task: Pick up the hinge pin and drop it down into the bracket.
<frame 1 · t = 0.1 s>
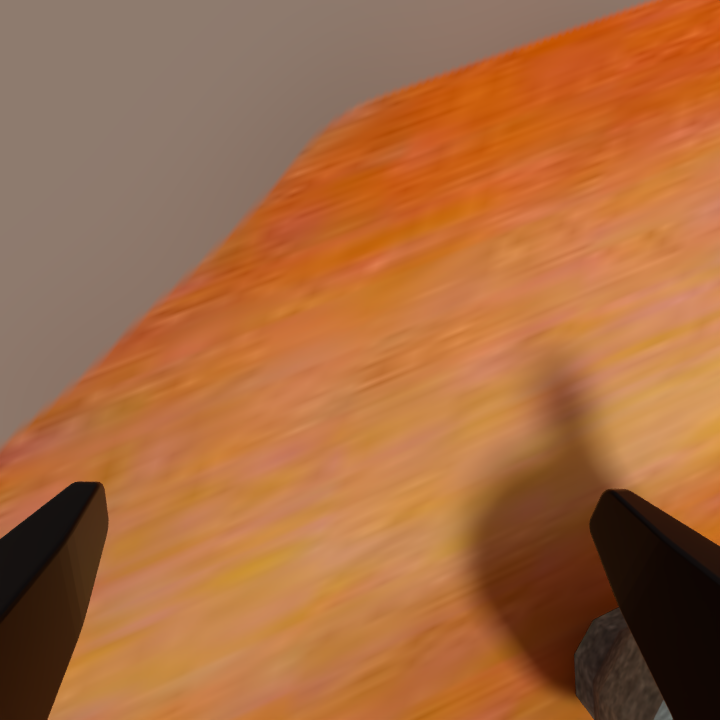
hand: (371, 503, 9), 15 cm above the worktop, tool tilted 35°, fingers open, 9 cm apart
mortar and pestle: (632, 653, 26), on the worktop
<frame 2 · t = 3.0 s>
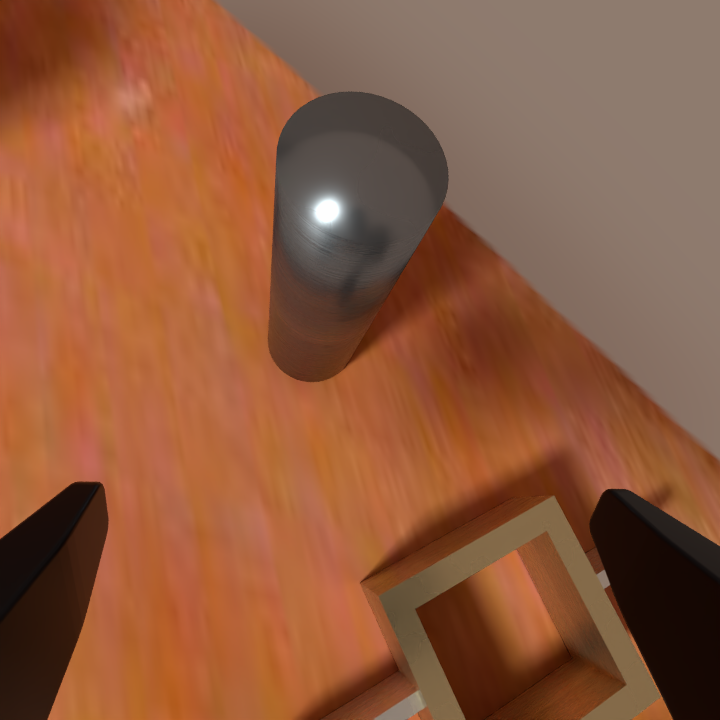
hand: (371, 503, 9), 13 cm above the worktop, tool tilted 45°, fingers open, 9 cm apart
hinge pin: (311, 340, 24), on the worktop
bracket: (483, 626, 22), on the worktop
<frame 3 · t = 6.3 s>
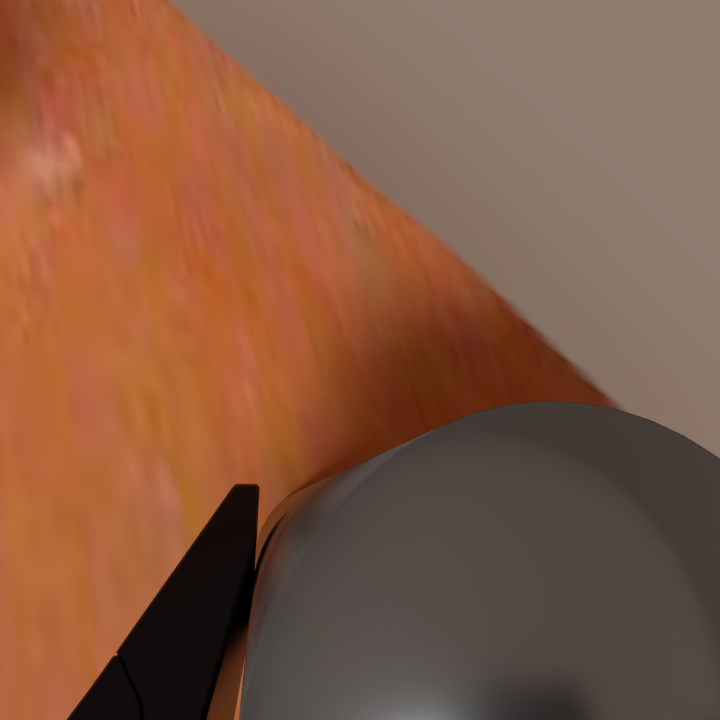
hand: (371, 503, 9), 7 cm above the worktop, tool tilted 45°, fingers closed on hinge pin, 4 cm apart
hinge pin: (324, 554, 15), on the worktop, touching gripper
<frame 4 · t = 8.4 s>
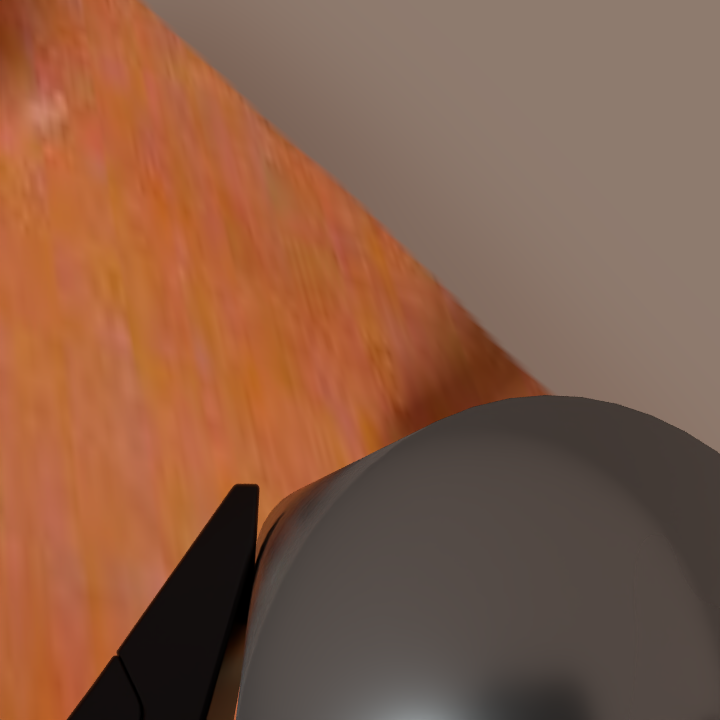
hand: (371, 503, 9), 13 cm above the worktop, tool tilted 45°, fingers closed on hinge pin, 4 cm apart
hinge pin: (324, 553, 15), point 6 cm above the worktop, touching gripper
when the fingers open (9 cm above the worktop, at t = 10.9 s): hinge pin drops 2 cm, resting in bracket.
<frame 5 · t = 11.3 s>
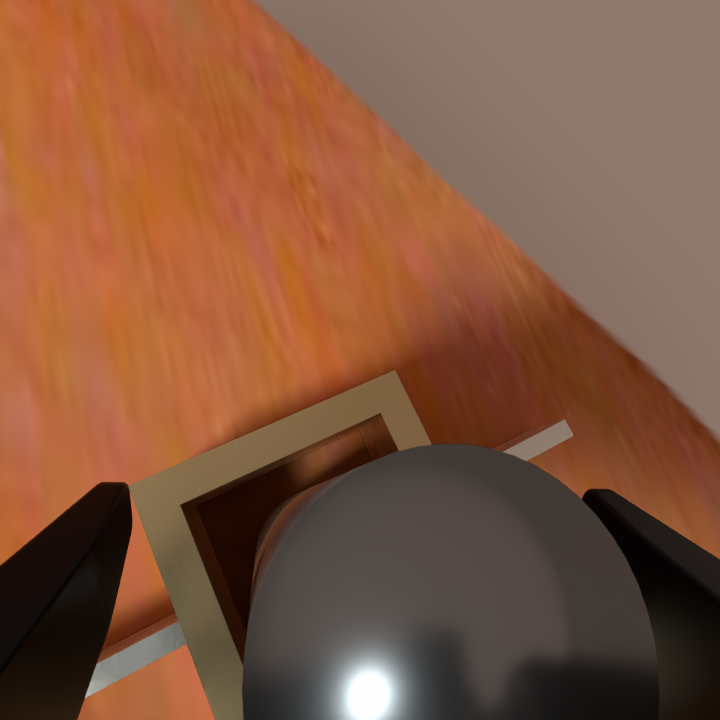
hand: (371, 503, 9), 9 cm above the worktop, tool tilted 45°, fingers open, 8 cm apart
hinge pin: (317, 551, 17), resting in bracket
bracket: (317, 549, 17), on the worktop
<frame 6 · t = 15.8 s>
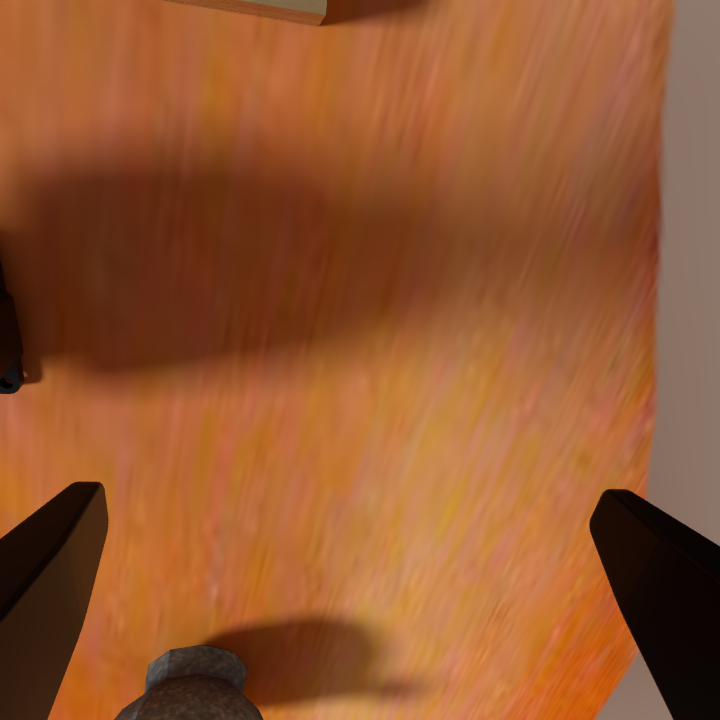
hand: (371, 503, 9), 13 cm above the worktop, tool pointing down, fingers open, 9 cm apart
mortar and pestle: (203, 677, 33), on the worktop
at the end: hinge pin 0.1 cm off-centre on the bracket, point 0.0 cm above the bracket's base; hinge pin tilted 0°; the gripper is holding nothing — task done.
